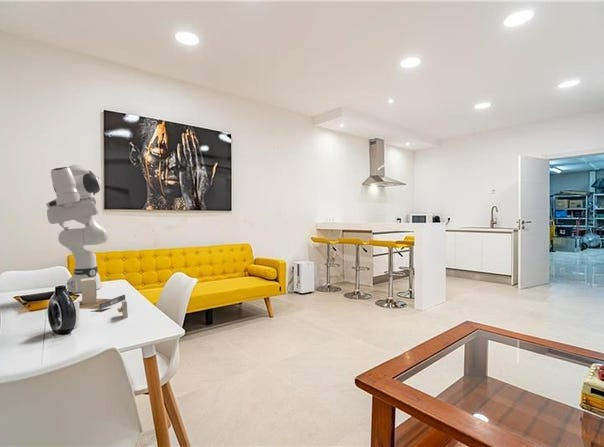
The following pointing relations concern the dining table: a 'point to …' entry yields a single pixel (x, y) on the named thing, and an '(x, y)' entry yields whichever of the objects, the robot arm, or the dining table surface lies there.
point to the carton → (88, 290)
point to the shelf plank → (101, 303)
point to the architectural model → (123, 309)
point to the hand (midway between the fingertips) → (78, 228)
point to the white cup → (77, 314)
